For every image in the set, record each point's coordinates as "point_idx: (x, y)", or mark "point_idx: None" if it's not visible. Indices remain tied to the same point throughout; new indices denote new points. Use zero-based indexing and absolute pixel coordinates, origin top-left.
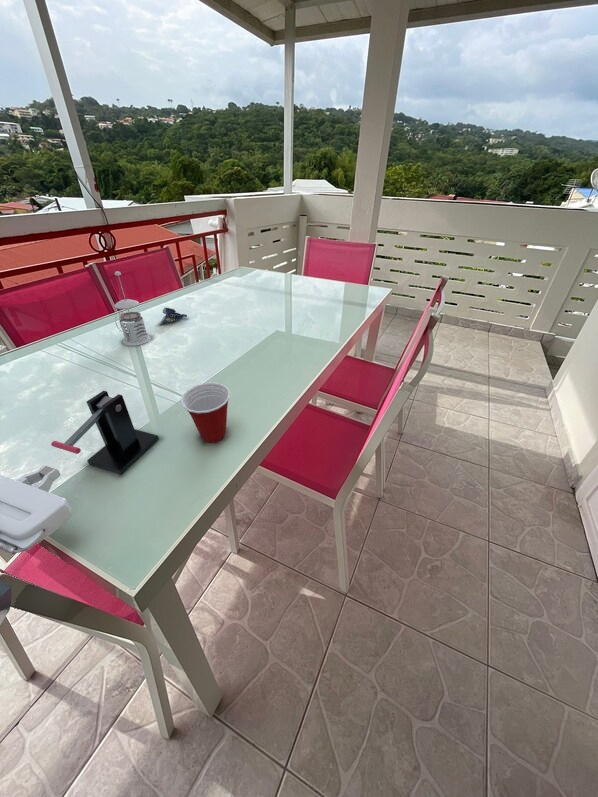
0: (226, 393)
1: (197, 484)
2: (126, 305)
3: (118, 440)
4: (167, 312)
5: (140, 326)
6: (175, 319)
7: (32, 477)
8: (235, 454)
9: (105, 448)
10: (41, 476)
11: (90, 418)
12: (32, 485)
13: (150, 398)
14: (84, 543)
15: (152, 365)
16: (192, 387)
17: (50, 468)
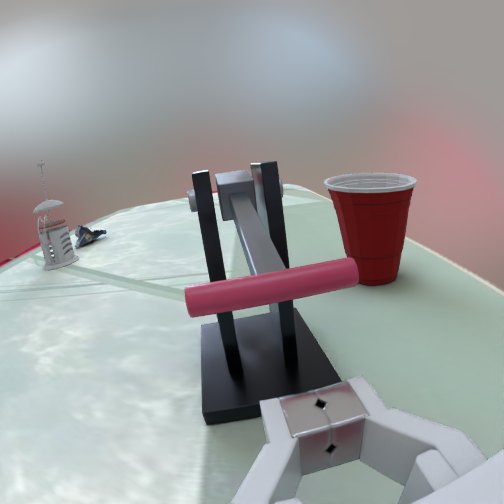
0: (379, 181)
1: (485, 315)
2: (50, 204)
3: (289, 302)
4: (80, 233)
5: (67, 235)
6: (94, 237)
7: (283, 485)
8: (445, 274)
9: (212, 371)
10: (300, 461)
11: (240, 208)
12: (431, 485)
13: (169, 291)
14: None
15: (114, 269)
16: (325, 181)
17: (324, 390)
